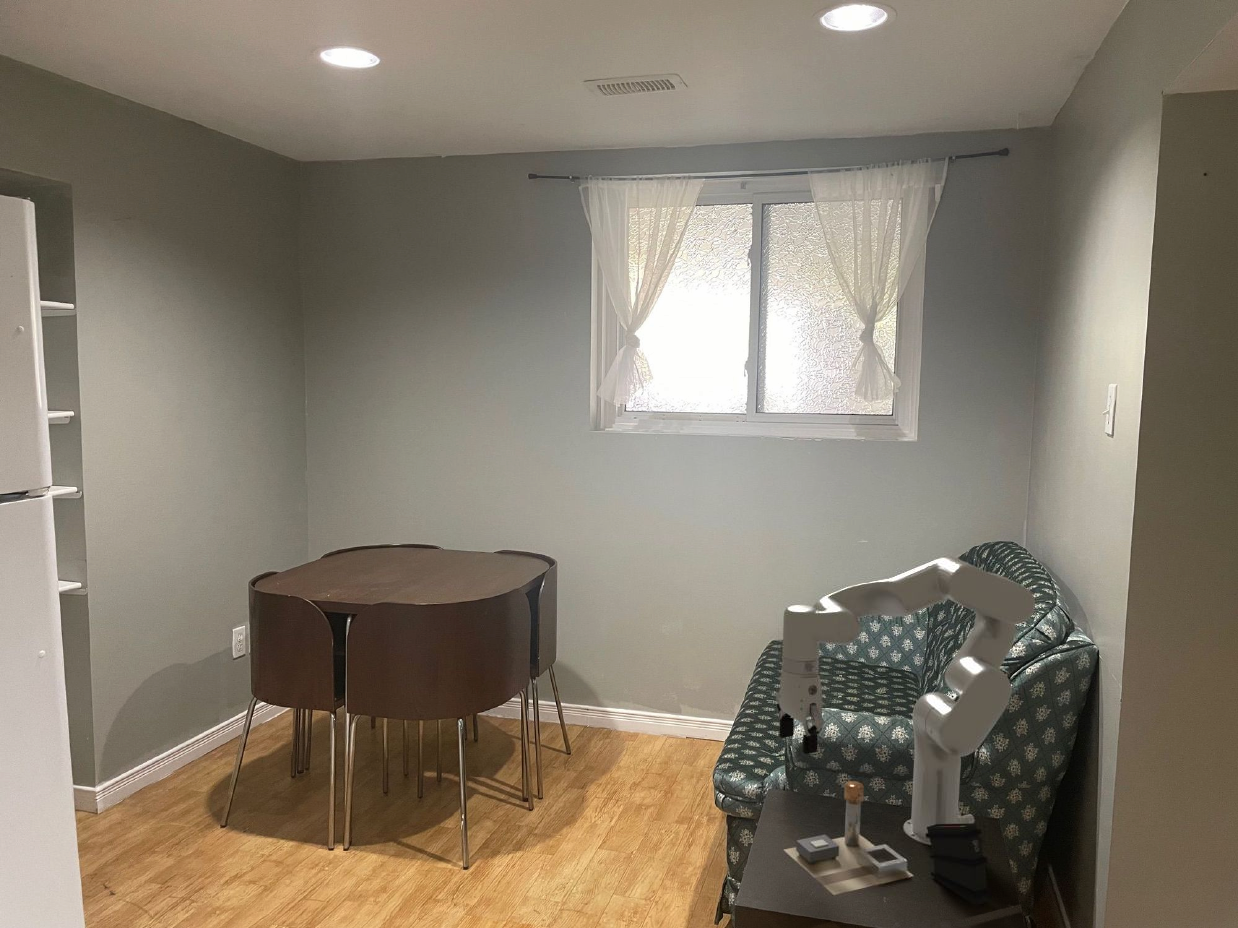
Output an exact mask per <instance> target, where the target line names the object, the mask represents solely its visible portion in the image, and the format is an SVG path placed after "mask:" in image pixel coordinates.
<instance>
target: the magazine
mask: <svg viewBox="0 0 1238 928" xmlns="http://www.w3.org/2000/svg"><path fill="white" fill-rule="evenodd" d="M927 831H928V833H926V834H925V835H926V838H930V842H931V845H930V846H931V851H932V853H930V854H929V857H930V858H932V859H933V871H930V875H931V876H933V879H934V880H935V881H937V882H938V883H940V884H941V885H943V886H944V887H946V888H947V889H949V890H950V891H952V892H954V894H956V895H958V896H960V897H961V898H962V899H964V900H965V901H967V902H968V903H969V904H971V905H973V906H979V905H982V904H984V903H987V896H988V895H990V894H991V893H990V892H991V891H990V887H989V888H988V887H987V874H986V873H987V872H986V864H988V857H987V856H984V852H983V846H982V841H981V838H980V835H982V830H981V829H980V828H979V829H978V828H977V824H976V823H975V822H974V823H963V824H935V825H932V826H928V827H927Z"/></svg>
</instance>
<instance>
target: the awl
mask: <svg viewBox="0 0 1238 928" xmlns="http://www.w3.org/2000/svg"><path fill="white" fill-rule="evenodd" d="M843 796H844V800H845V801H846V802H845V821H844V824H845V825H844V837H845V842H844V843H845V845H847V846H849V847H858V846H859V834H860V831H861V830H860V829H861V806H862V802H864V785H863V783H861V782H858V781H853V780H849V781H847V782H845V783H844V795H843Z"/></svg>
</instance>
